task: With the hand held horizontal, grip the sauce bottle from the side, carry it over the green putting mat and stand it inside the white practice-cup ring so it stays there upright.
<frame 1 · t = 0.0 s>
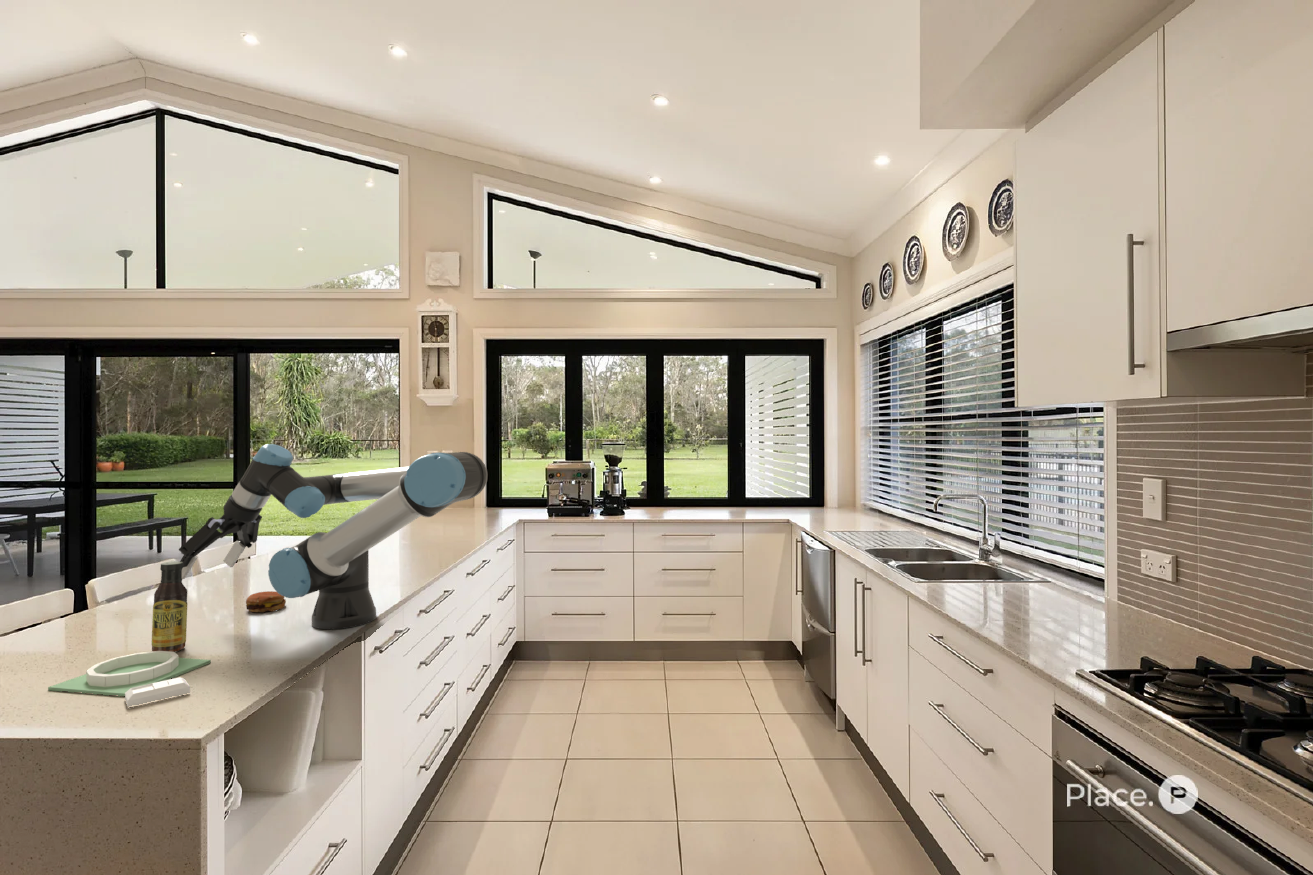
hand: (204, 569, 158), 15 cm above the counter, tool tilted 35°, fingers open, 13 cm apart
putting mat: (133, 675, 129), on the counter
burger: (266, 610, 178), on the counter
sauce bottle: (170, 651, 144), on the counter
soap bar: (157, 700, 118), on the counter
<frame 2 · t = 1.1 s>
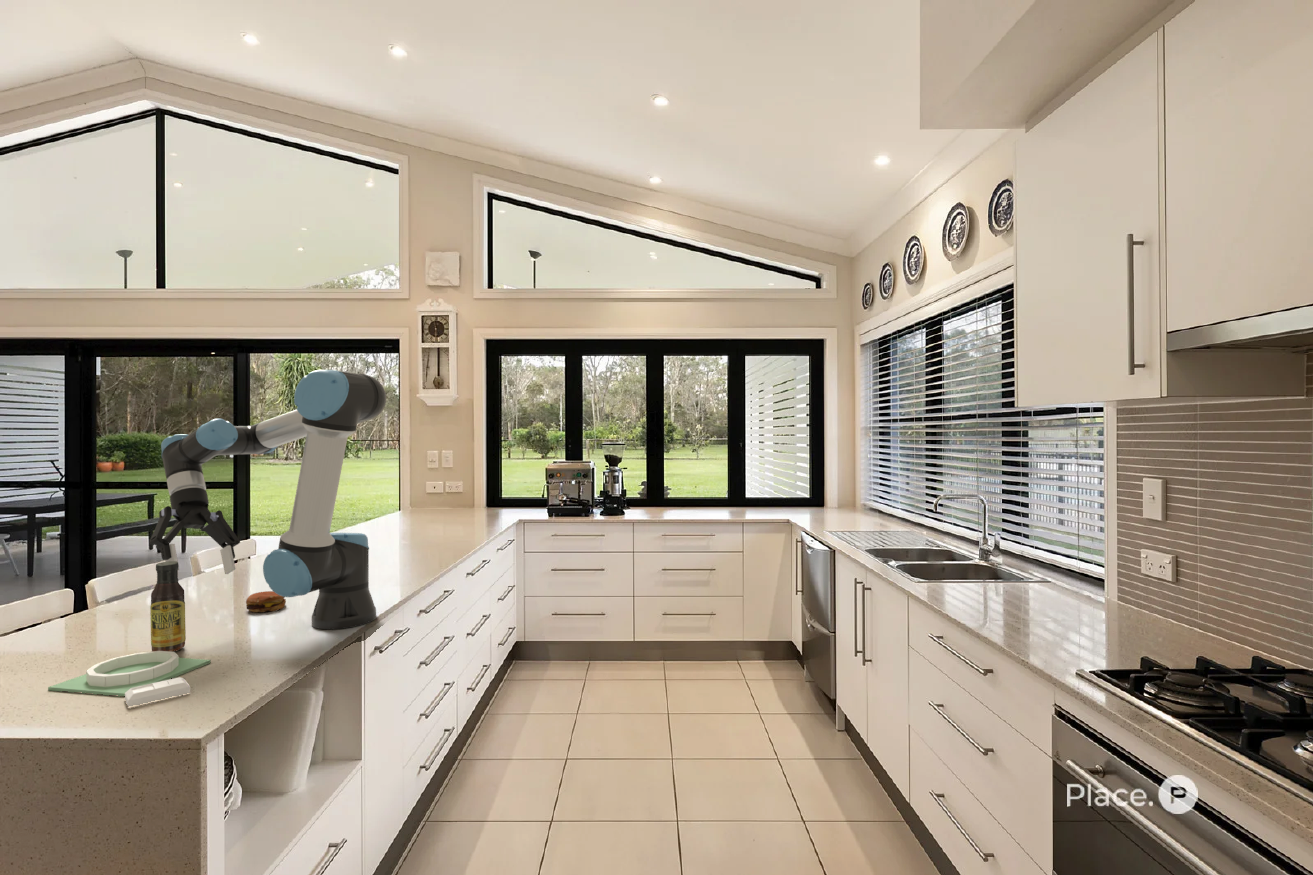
hand: (203, 572, 151), 16 cm above the counter, tool tilted 30°, fingers open, 13 cm apart
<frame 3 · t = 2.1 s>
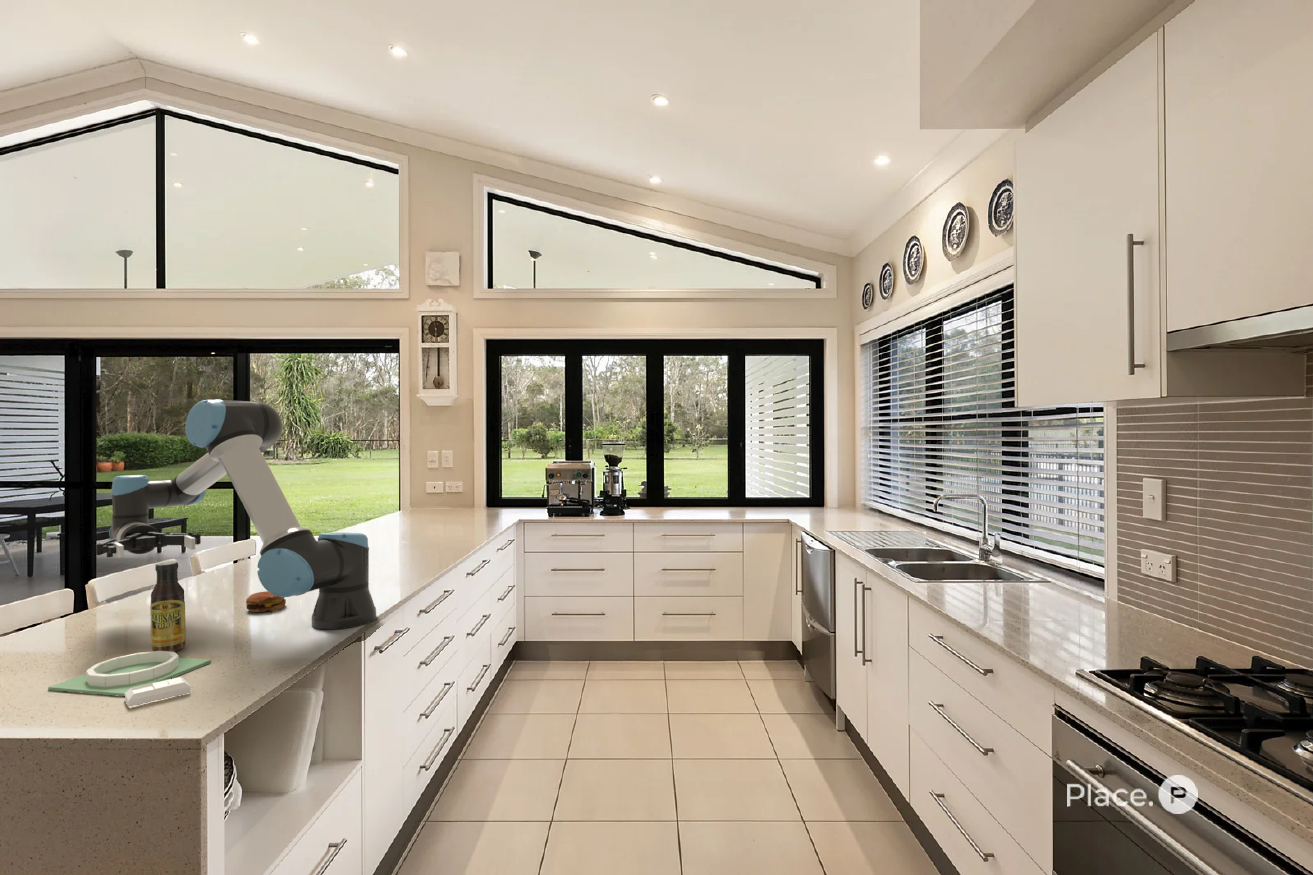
hand: (158, 547, 150), 22 cm above the counter, tool horizontal, fingers open, 13 cm apart
nothing on the counter moved.
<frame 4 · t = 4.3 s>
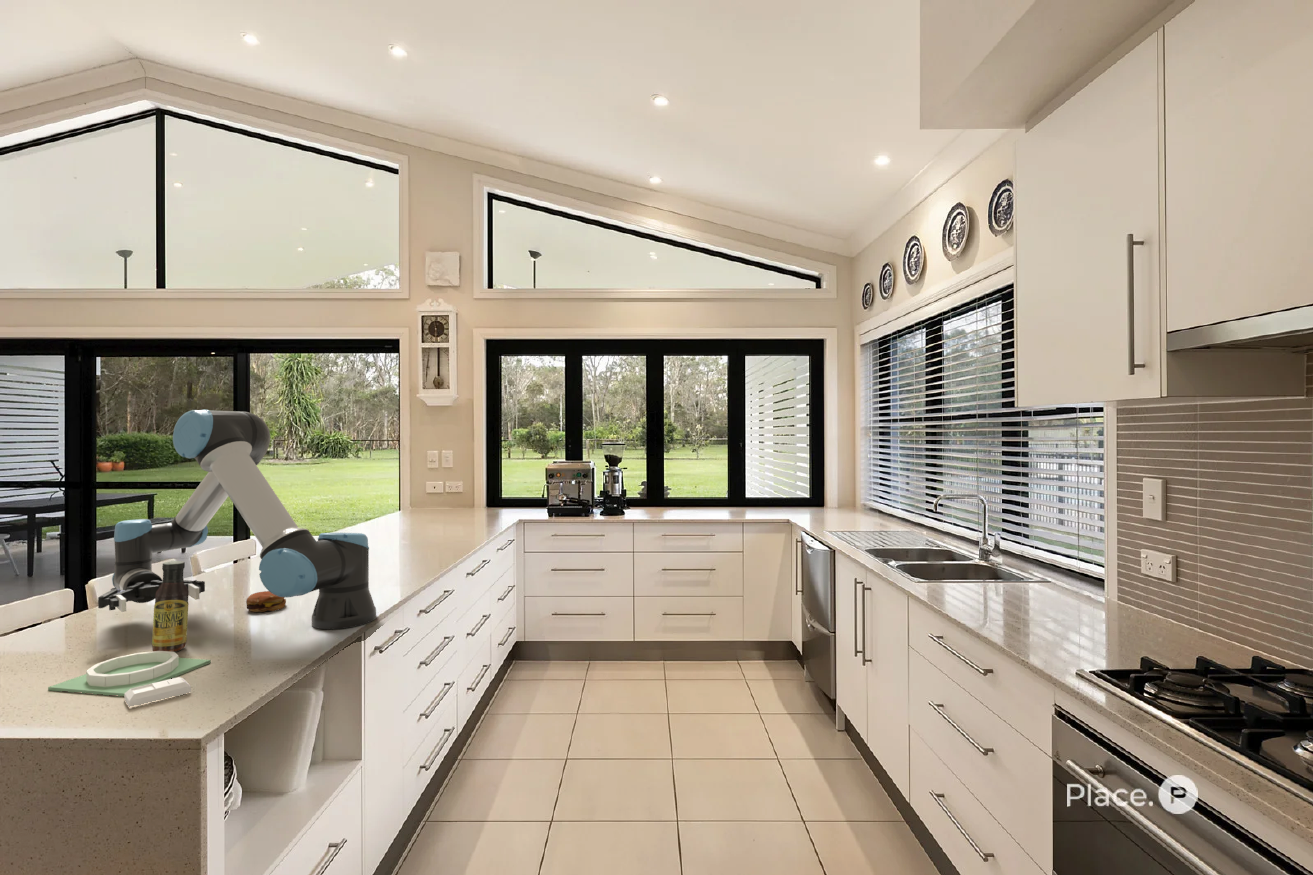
hand: (162, 599, 146), 11 cm above the counter, tool horizontal, fingers open, 13 cm apart
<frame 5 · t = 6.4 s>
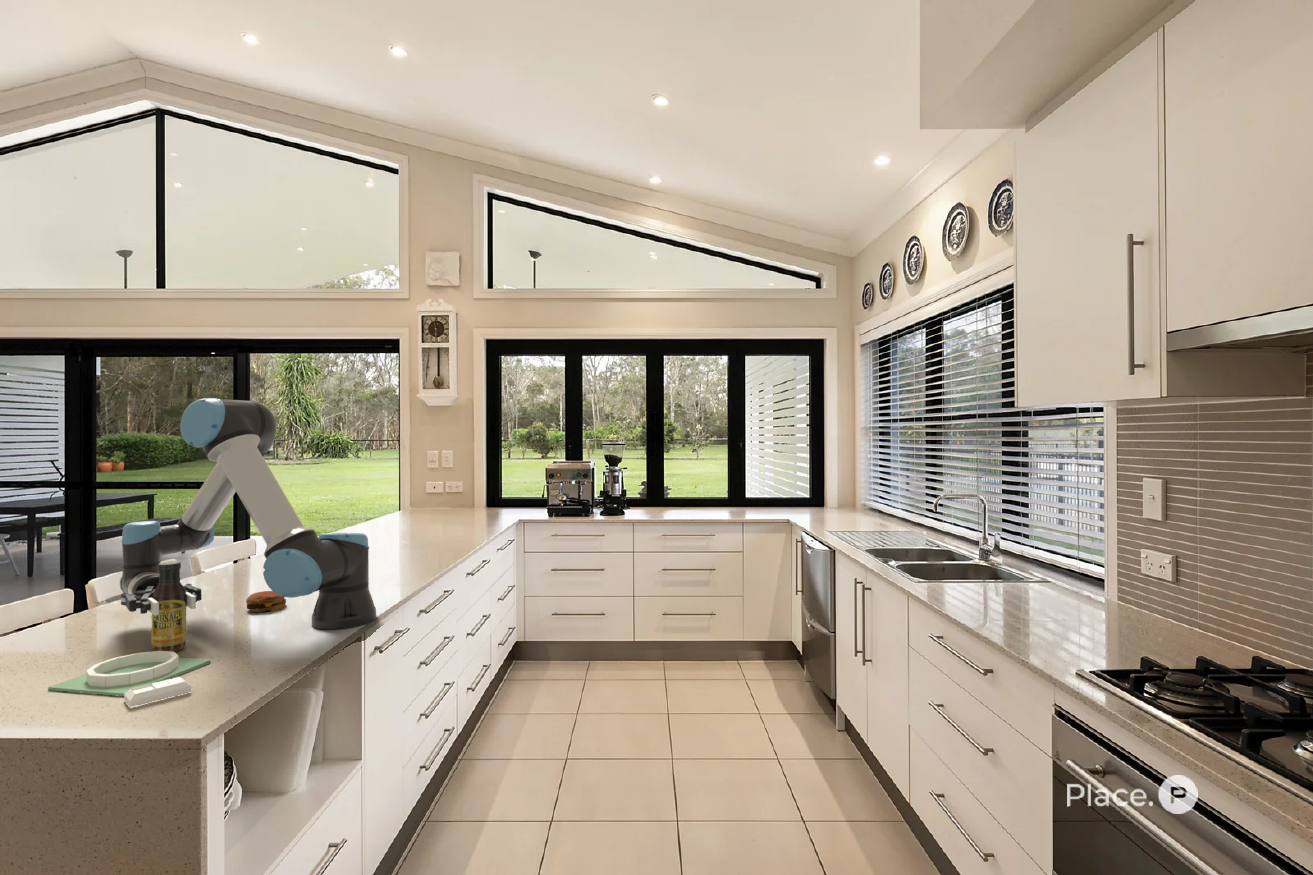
hand: (175, 605, 140), 11 cm above the counter, tool horizontal, fingers closed on sauce bottle, 6 cm apart
sauce bottle: (170, 651, 144), on the counter, touching gripper
everything else where it was.
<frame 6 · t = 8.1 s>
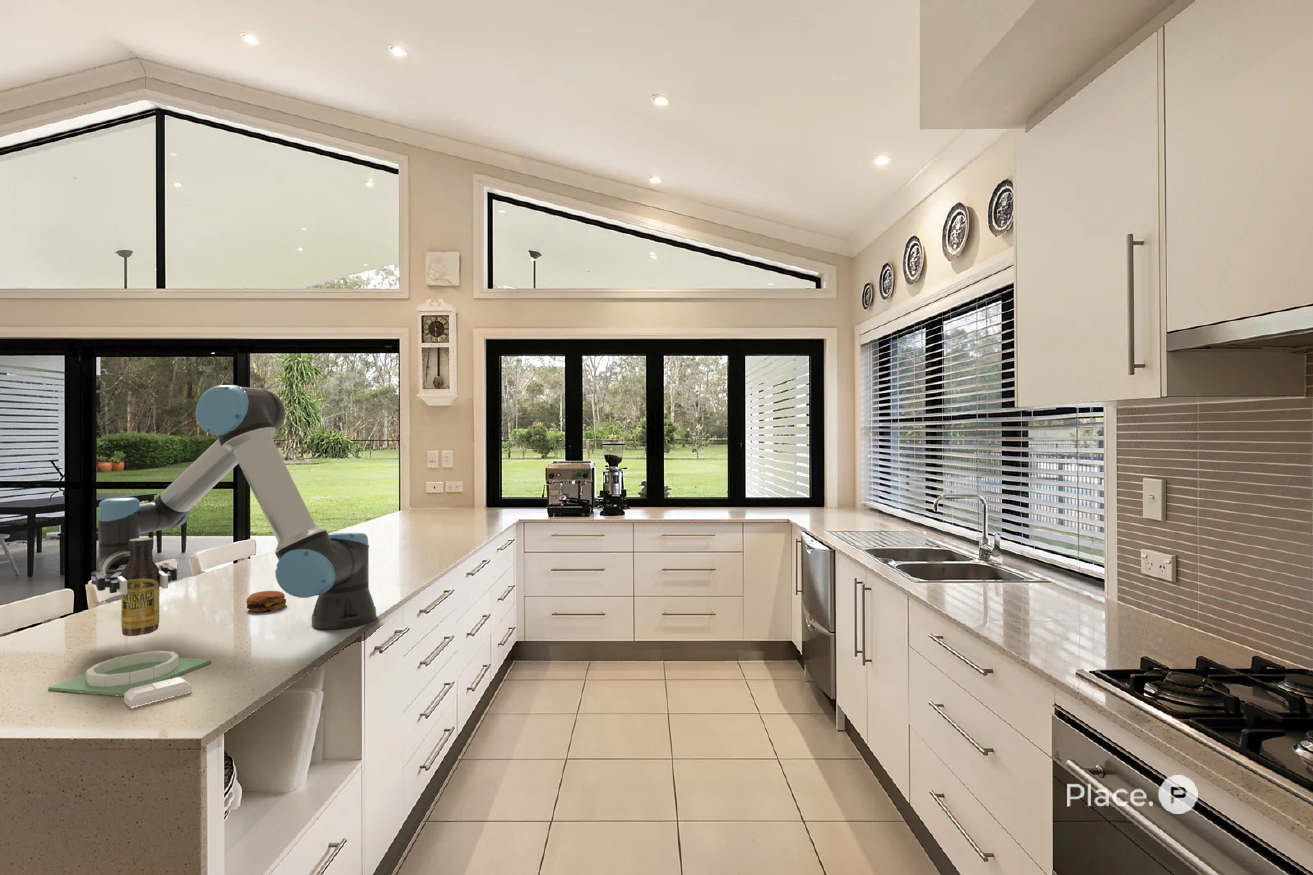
hand: (145, 584, 131), 18 cm above the counter, tool horizontal, fingers closed on sauce bottle, 6 cm apart
sauce bottle: (142, 633, 134), point 7 cm above the counter, touching gripper
everything else where it was.
when the fingers open (13 cm above the counter, at t = 10.0 s): sauce bottle drops 1 cm, resting on putting mat.
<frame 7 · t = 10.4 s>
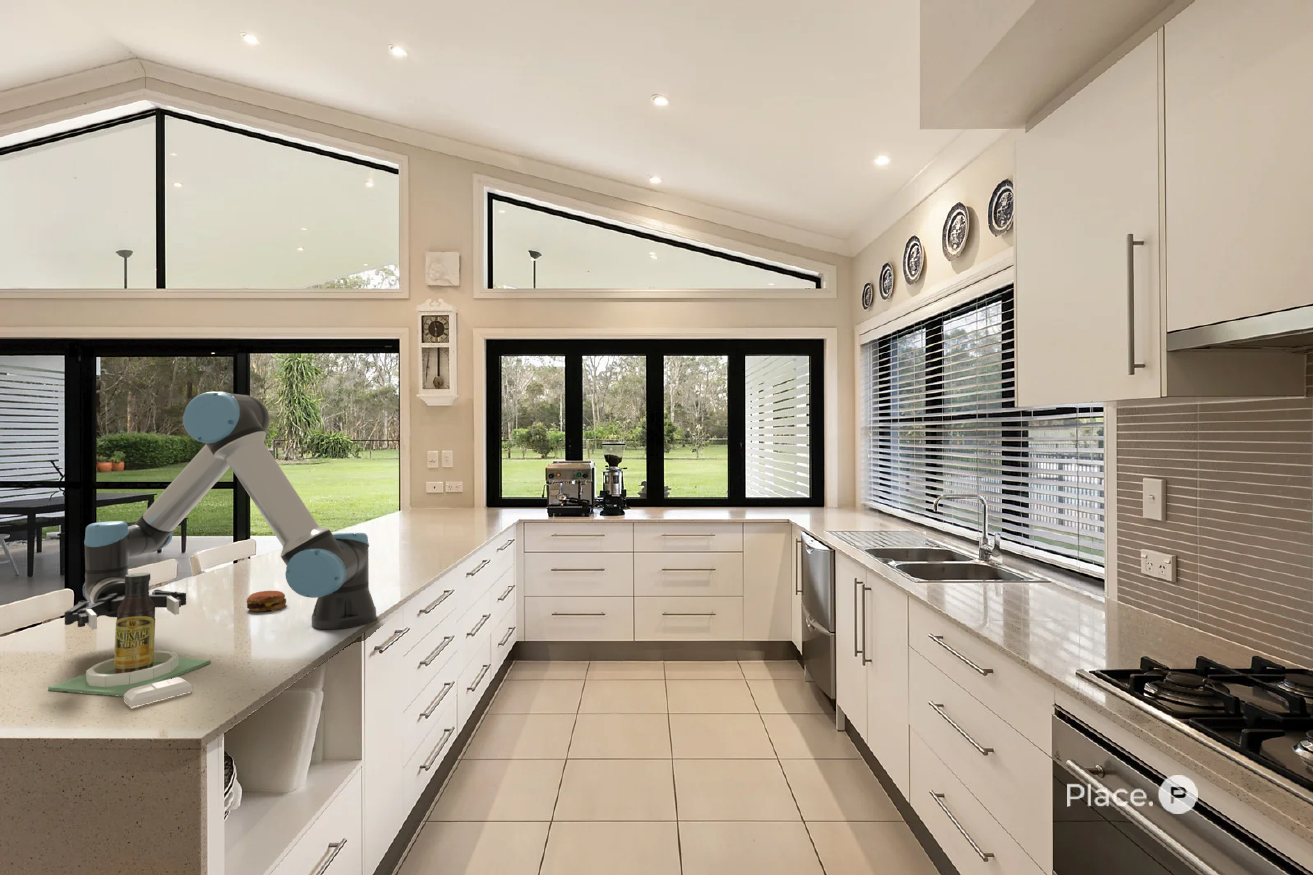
hand: (137, 614, 126), 13 cm above the counter, tool horizontal, fingers open, 12 cm apart
sauce bottle: (135, 673, 129), resting on putting mat
everything else where it was.
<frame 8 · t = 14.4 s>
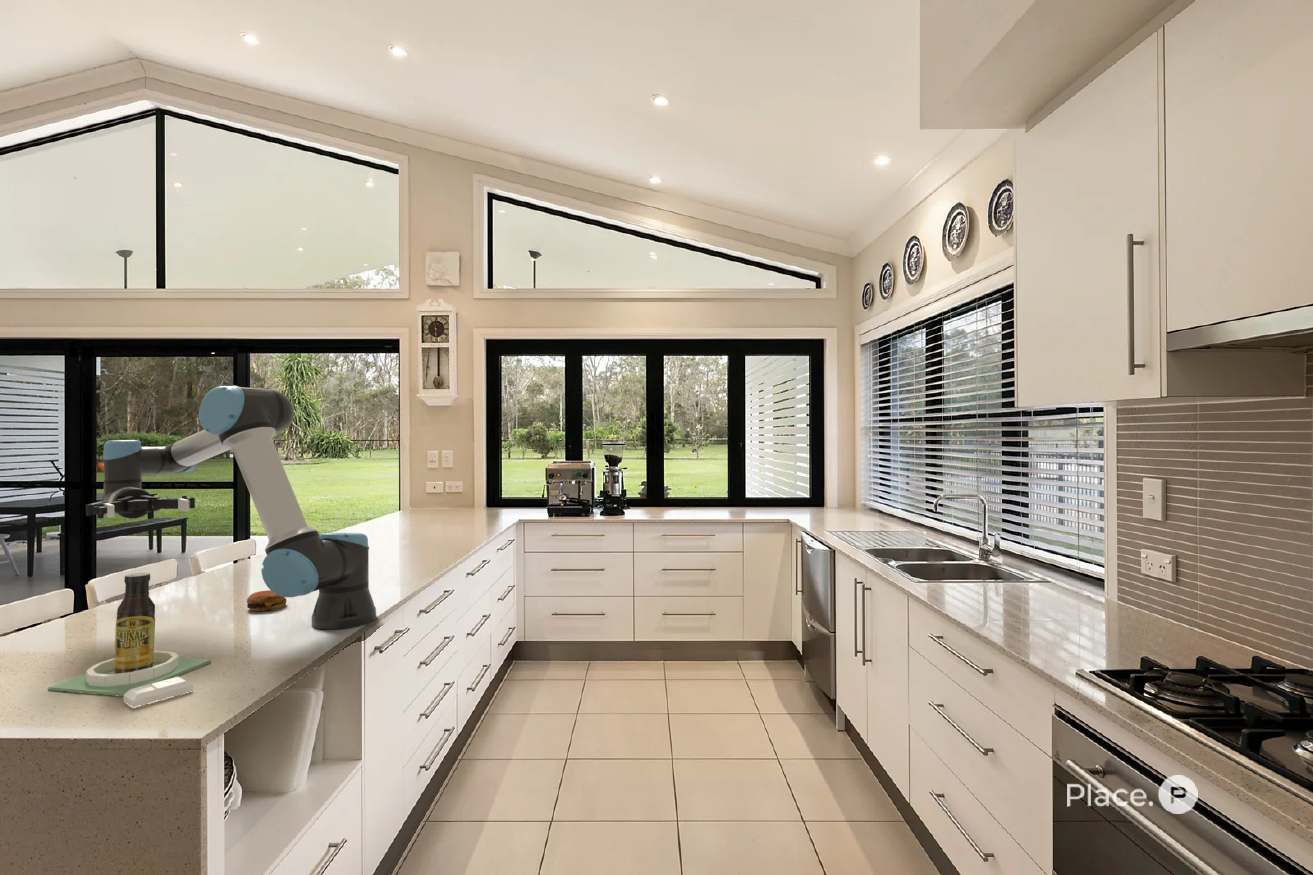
hand: (151, 508, 145), 32 cm above the counter, tool horizontal, fingers open, 13 cm apart
at the end: sauce bottle 0.2 cm from the putting mat (horizontally); sauce bottle tilted 0°; the gripper is holding nothing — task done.
